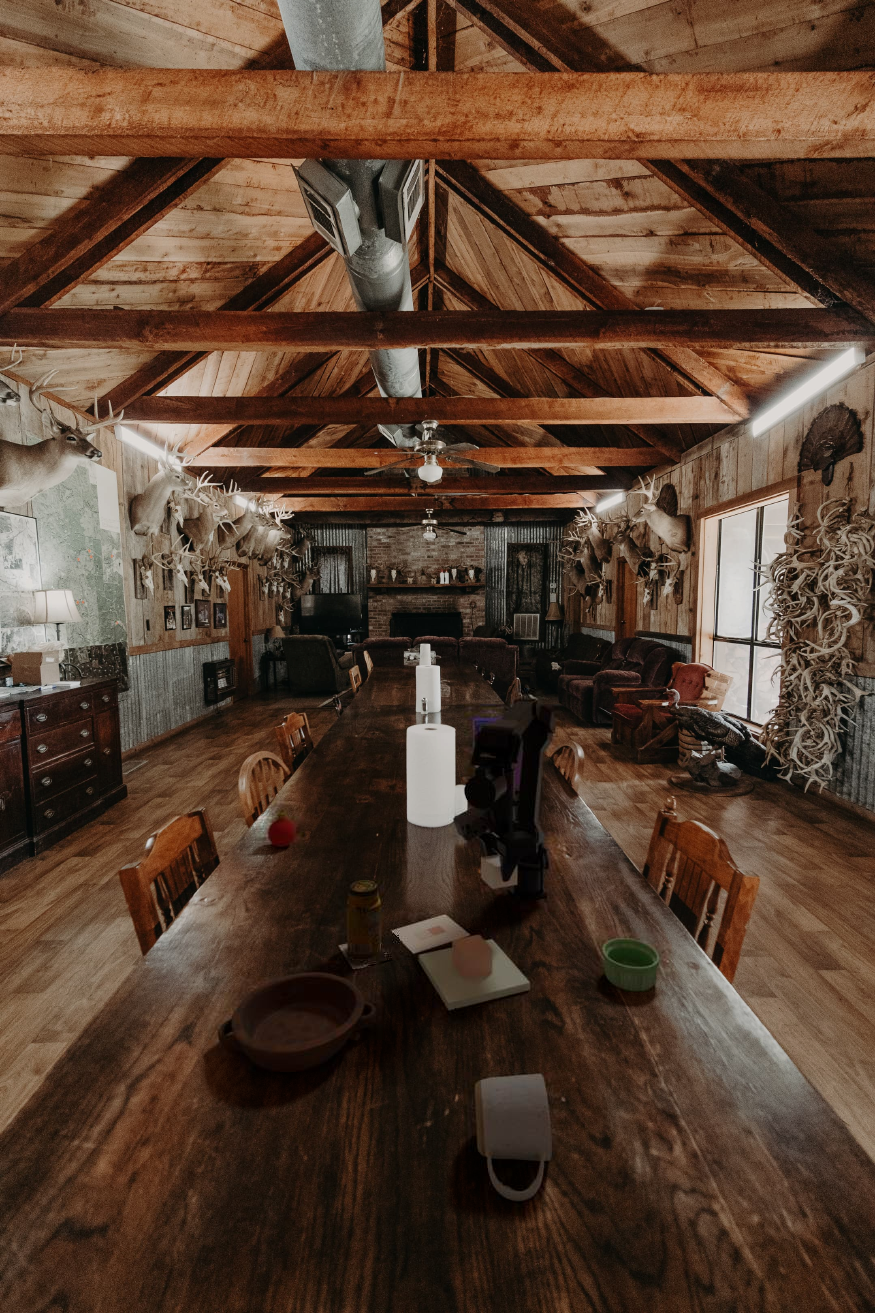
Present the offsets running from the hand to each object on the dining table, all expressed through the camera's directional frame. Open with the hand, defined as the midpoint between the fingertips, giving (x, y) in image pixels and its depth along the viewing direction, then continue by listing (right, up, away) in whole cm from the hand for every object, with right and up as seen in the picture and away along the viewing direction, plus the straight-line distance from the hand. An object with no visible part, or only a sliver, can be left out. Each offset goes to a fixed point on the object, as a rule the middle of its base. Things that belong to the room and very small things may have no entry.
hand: (499, 875), depth 114 cm
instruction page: (-13, -11, +1) cm, 17 cm away
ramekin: (+20, -13, -13) cm, 27 cm away
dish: (-31, -14, -27) cm, 43 cm away
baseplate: (-6, -12, -12) cm, 18 cm away
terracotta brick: (-6, -11, -12) cm, 17 cm away
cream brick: (0, -1, 0) cm, 1 cm away
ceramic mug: (-3, -15, -46) cm, 48 cm away
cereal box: (+10, -5, +95) cm, 96 cm away
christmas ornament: (-52, -9, +45) cm, 69 cm away
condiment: (-24, -12, -5) cm, 28 cm away
